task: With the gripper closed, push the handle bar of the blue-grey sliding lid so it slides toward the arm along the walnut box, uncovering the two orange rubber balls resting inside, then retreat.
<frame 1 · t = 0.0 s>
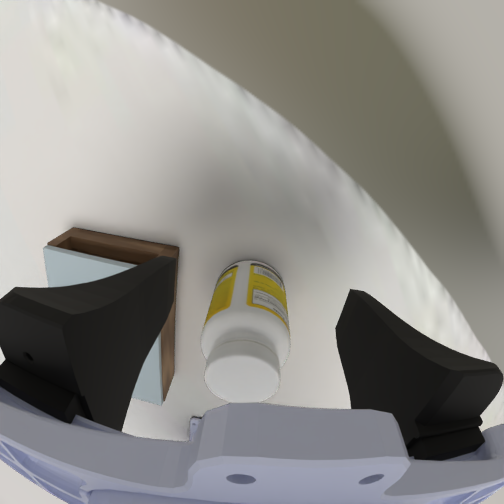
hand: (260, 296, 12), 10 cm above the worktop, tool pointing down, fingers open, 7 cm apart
supplement bottle: (251, 288, 23), on the worktop
case: (123, 308, 25), on the worktop
lid: (98, 343, 20), point 5 cm above the worktop, slide at 0.0 cm
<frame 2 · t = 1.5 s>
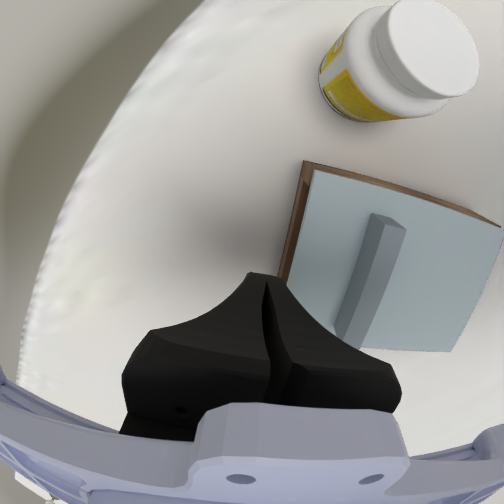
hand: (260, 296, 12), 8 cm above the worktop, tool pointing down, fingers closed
supplement bottle: (358, 82, 16), on the worktop
case: (381, 253, 20), on the worktop
lid: (411, 289, 15), point 5 cm above the worktop, slide at 0.0 cm
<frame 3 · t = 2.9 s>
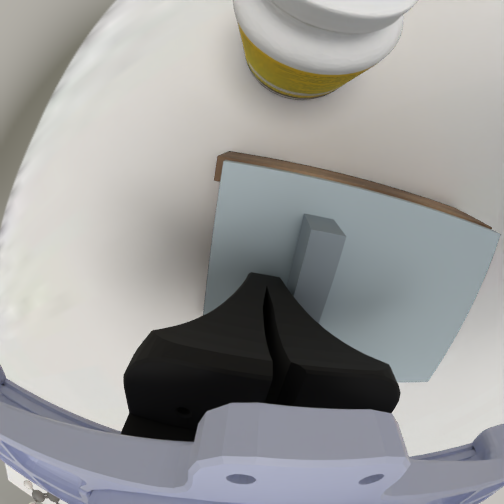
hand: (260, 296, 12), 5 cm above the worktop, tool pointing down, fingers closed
supplement bottle: (298, 54, 13), on the worktop
case: (336, 262, 17), on the worktop
molecule model: (65, 481, 42), on the worktop
lid: (366, 313, 12), point 5 cm above the worktop, slide at 0.3 cm, touching gripper
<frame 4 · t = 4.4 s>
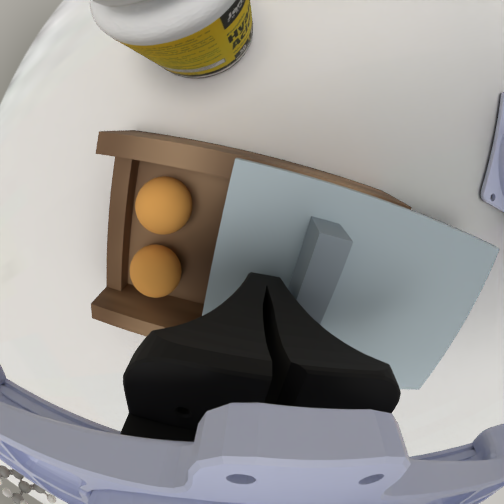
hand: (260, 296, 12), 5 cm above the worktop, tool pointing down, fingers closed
supplement bottle: (203, 35, 12), on the worktop
case: (236, 242, 17), on the worktop
ball a: (172, 199, 15), point 1 cm above the worktop, touching case
molecule model: (29, 459, 41), on the worktop
ball b: (163, 260, 16), point 1 cm above the worktop, touching case
lid: (364, 318, 12), point 5 cm above the worktop, slide at 6.2 cm, touching gripper
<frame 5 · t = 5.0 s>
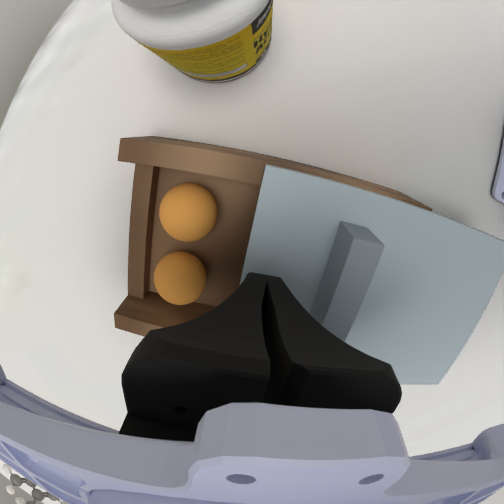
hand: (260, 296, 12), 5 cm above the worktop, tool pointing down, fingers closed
supplement bottle: (220, 39, 12), on the worktop
case: (260, 246, 17), on the worktop
ball a: (195, 205, 15), point 1 cm above the worktop, touching case
molecule model: (42, 467, 42), on the worktop
ball b: (186, 266, 16), point 1 cm above the worktop, touching case
lid: (391, 317, 12), point 5 cm above the worktop, slide at 6.2 cm
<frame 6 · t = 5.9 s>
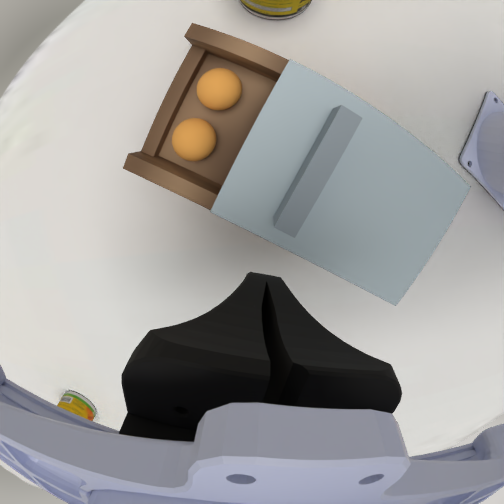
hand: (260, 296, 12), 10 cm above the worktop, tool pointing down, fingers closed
case: (262, 139, 19), on the worktop
ball a: (222, 92, 17), point 1 cm above the worktop, touching case
ball b: (199, 139, 19), point 1 cm above the worktop, touching case
supplement bottle 2: (81, 401, 33), on the worktop
lid: (361, 196, 15), point 5 cm above the worktop, slide at 6.2 cm
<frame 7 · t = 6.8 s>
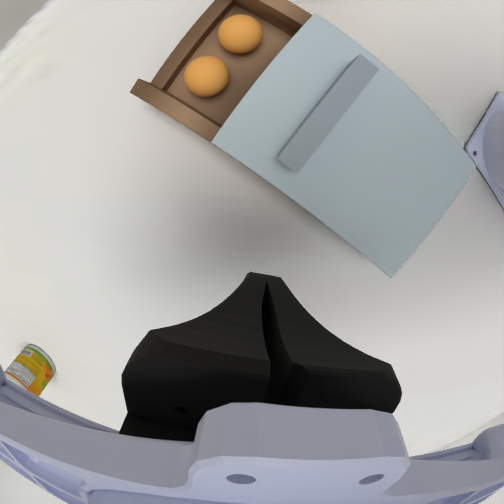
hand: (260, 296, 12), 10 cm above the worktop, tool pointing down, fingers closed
case: (273, 90, 18), on the worktop
ball a: (242, 40, 16), point 1 cm above the worktop, touching case
ball b: (210, 80, 17), point 1 cm above the worktop, touching case
supplement bottle 2: (41, 358, 30), on the worktop
lid: (369, 148, 14), point 5 cm above the worktop, slide at 6.2 cm
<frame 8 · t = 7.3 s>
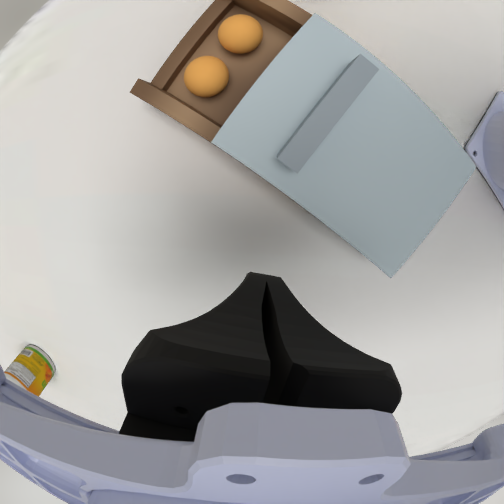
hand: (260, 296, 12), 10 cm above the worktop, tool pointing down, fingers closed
case: (273, 90, 18), on the worktop
ball a: (242, 40, 16), point 1 cm above the worktop, touching case
ball b: (210, 80, 17), point 1 cm above the worktop, touching case
supplement bottle 2: (41, 358, 30), on the worktop
lid: (369, 148, 14), point 5 cm above the worktop, slide at 6.2 cm
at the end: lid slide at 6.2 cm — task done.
